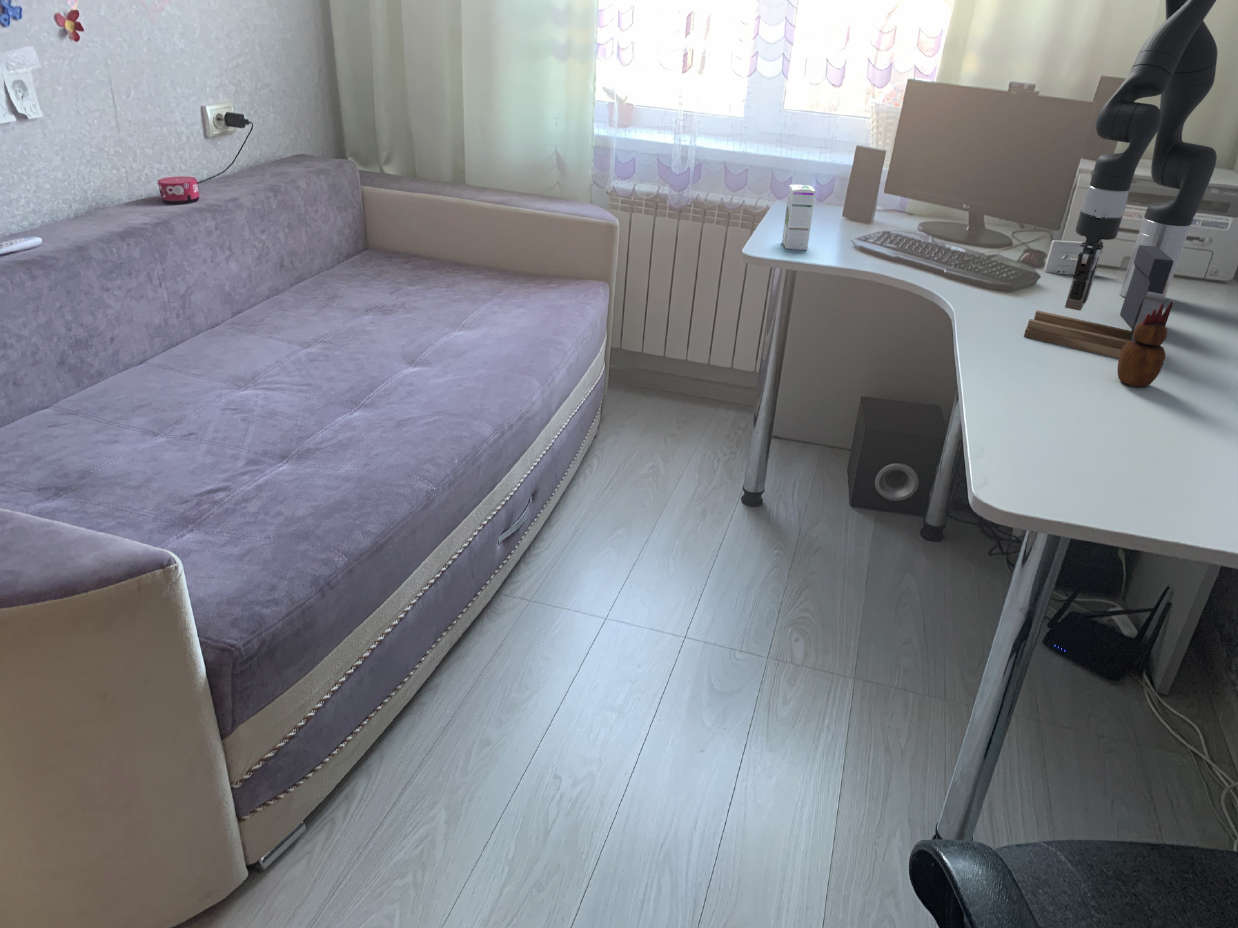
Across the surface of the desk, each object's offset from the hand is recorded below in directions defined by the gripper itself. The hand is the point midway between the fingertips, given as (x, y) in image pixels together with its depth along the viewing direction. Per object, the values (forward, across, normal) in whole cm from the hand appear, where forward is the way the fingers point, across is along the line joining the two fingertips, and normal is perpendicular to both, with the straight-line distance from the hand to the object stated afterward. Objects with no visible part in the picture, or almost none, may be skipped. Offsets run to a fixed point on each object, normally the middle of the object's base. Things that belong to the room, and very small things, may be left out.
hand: (1077, 295), depth 190 cm
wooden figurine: (+6, +28, +15) cm, 33 cm away
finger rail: (+5, +11, +6) cm, 14 cm away
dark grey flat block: (+6, -9, +11) cm, 15 cm away
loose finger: (+2, 0, 0) cm, 2 cm away
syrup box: (+6, -13, -67) cm, 68 cm away
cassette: (+6, -40, -7) cm, 41 cm away
